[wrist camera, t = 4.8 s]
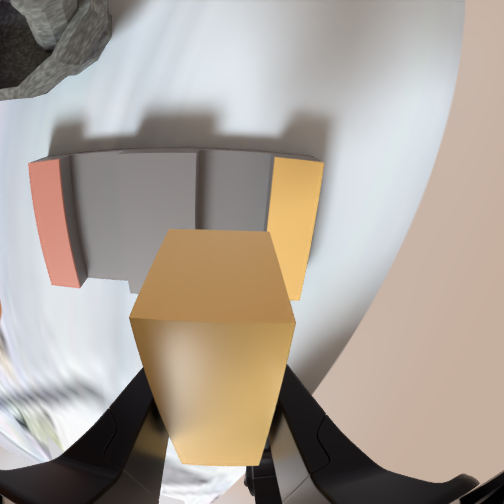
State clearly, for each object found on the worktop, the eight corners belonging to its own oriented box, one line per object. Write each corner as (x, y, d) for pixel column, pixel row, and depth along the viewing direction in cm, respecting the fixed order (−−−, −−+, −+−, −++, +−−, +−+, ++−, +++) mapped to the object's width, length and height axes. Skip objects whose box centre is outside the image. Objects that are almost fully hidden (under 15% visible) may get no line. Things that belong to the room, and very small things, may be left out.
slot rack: (293, 281, 23) (299, 300, 20) (65, 269, 21) (51, 284, 19) (312, 156, 18) (324, 163, 16) (47, 156, 16) (28, 163, 14)
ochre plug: (169, 229, 8) (128, 317, 5) (269, 231, 8) (295, 322, 5) (190, 399, 12) (185, 470, 9) (250, 400, 13) (256, 471, 9)
